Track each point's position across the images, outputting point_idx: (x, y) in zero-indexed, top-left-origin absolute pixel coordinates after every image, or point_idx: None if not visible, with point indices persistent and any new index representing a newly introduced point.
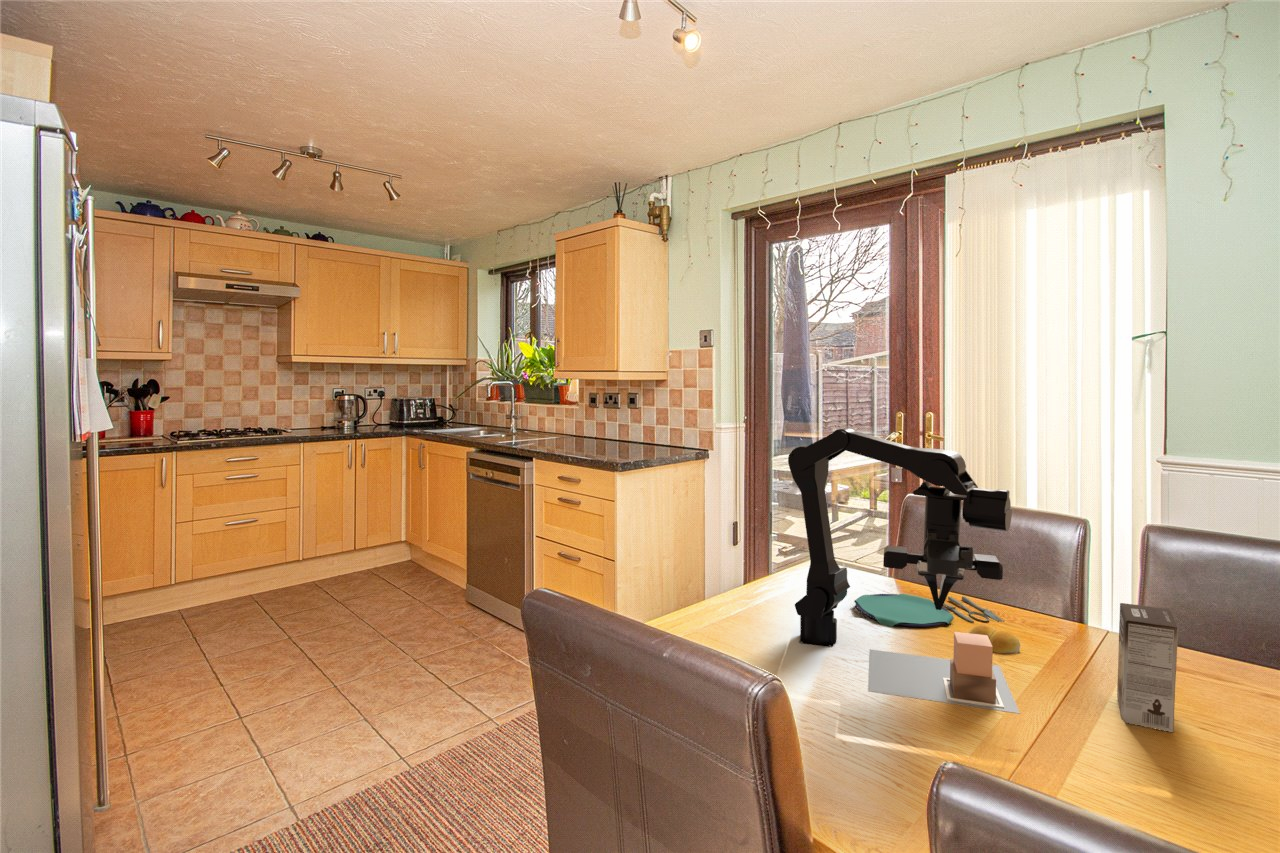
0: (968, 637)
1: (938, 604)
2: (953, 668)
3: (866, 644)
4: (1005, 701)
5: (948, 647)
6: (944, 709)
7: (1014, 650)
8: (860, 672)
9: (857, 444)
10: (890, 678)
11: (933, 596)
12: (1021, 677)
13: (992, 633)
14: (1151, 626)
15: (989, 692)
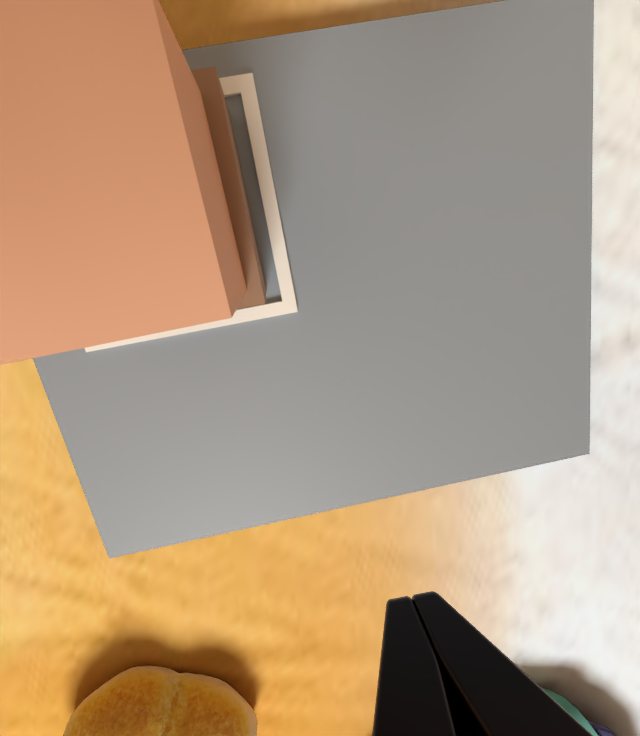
0: (80, 218)
1: (433, 636)
2: (231, 164)
3: (592, 513)
4: None
5: (311, 638)
6: (257, 6)
7: (77, 709)
8: (613, 232)
9: None
10: (504, 192)
11: (553, 715)
12: (24, 515)
13: None
14: None
15: None
